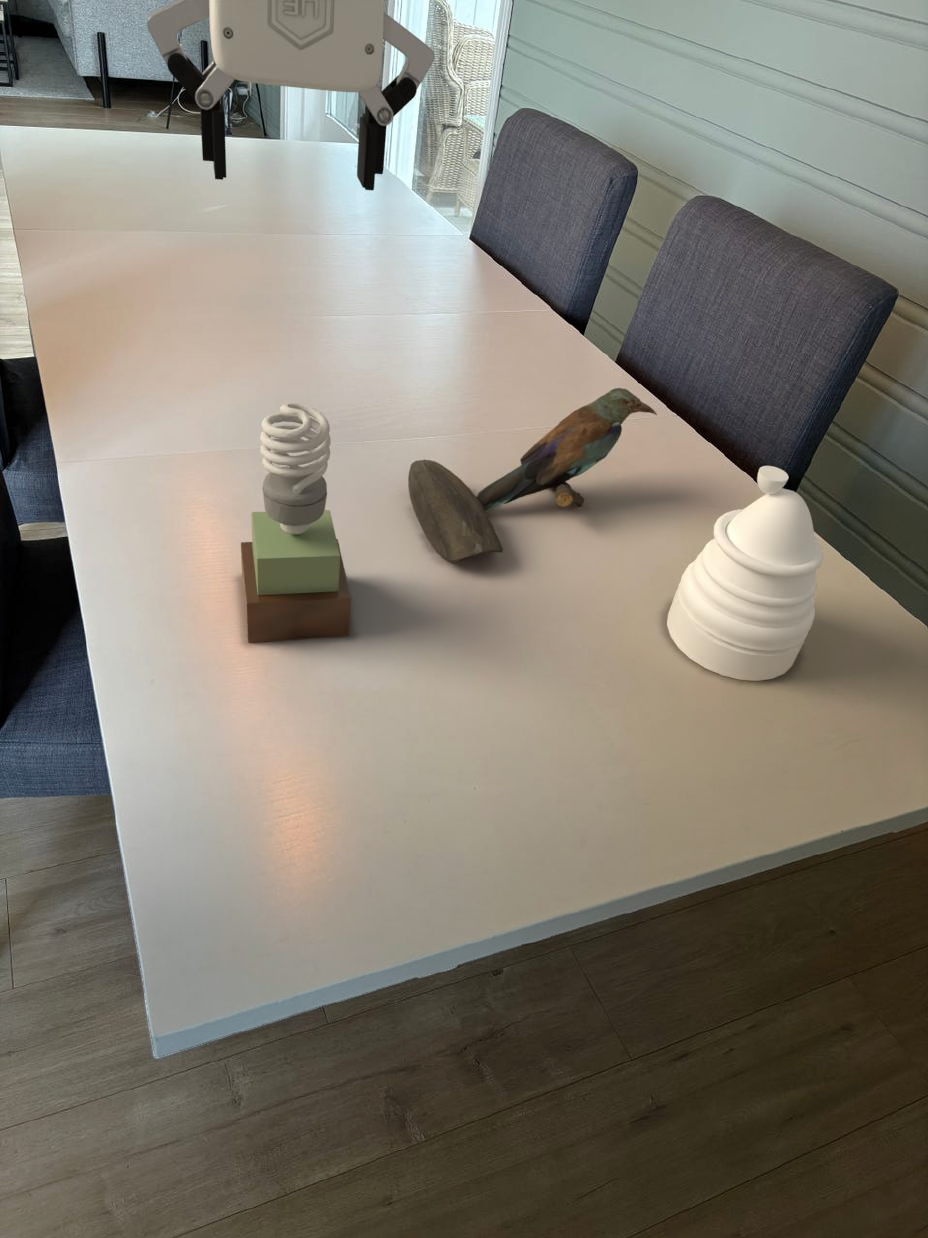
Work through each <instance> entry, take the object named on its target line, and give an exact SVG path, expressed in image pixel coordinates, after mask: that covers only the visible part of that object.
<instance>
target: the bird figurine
mask: <svg viewBox="0 0 928 1238" xmlns="http://www.w3.org/2000/svg"><path fill="white" fill-rule="evenodd" d="M633 413H634V414H635V413H650V414H654V415H655V416H658V414H657V412H656V411H655V410H654V408H652V407H651V406H649V404H646V403H645V402H642V401H641V399H640V398H639V397H637V396H636V395H635V394H633V393H632V392H631V391H629V389H627V388H621V387H617V388H613V389H611V390H609V391H608V392H606V393H605V394H603V395H601V396H599V397H598V398H597V399H595V400H594V401H592V402H590V403H588V404H586V405H584V406H583V405H582V406H581V407H580V408H578V409H575V410H574V411H572V412H571V413H570V414H569V415H567V416H566V417H564V418H563V419H561V420H560V421H559V423H558V424H557V425H556V426H554V427H553V428H552V429H551V430H550V431H549V432H547V433H546V434H545V435H543V437H541V438H540V439H539V440H538V441H537V442H536V443H535V444H533V445H532V446H531V447H530V448H529V449H528V450H527V451H526V452H525V453H524V454H523V455H522V456H521V457H520V459H519V461H520V465H519V466H518V467H516V468H514V469H513V470H511V471H509V472H508V473H506V474H505V475H503V476H502V477H500V478H498V479H496V480H494V481H493V482H492V483H490V484H488V485H486V487H484V488H483V489H481V490H480V491H479V492H478V494H477V496H476V497H477V498H478V500H479V501H480V503H481V504H482V506H483V508H484V509H485V512H486V514H487V513H489V512H491V511H492V510H494V509H497V508H498V507H500V506H502V505H505V504H508V503H509V504H510V503H511V502H514V501H516V500H518V499H521V498H524V497H526V496H530V495H533V494H536V493H539V492H542V491H544V490H551V491H552V492H553V494H554V496H555V500H556V504H557V505H558V506H559V507H562V508H566V507H570V505H571V504H573V505H575V506H576V508H581V507H583V506H584V504H585V498H584V497H583V496H582V495H581V493H580V492H576V490H574V489H573V488H572V486H571V484H569V483H568V482H569V480H571V479H573V478H574V477H575V478H576V477H578V476H580V475H582V474H584V473H586V472H587V471H589V470H590V469H591V468H593V467H594V466H595V465H597V464H598V463H599V462H601V461H602V460H604V459H605V458H607V456H608V455H609V453H610V452H611V451H612V450H613V448H614V447H615V446H616V444H617V443H618V441H619V439H620V437H621V434H622V431H623V427H622V424H623V423H624V422H625V421H626V419H627V418H628V417H629V416H630V415H632V414H633Z"/></svg>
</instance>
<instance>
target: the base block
mask: <svg viewBox="0 0 928 1238" xmlns="http://www.w3.org/2000/svg"><path fill="white" fill-rule="evenodd" d="M336 540H337V544H338V549H339V553H340V568H339V588H338V591H335V592H315V593H295V594H275V595H258V593H257V584H256V575H255V566H254V557H253V548H252V541H241V542H240V559H241V561H240V562H241V584H242V595H243V604H244V616H245V625H246V627H245V628H246V637H247V642H248V643H257V642H258V643H259V642H261V643H262V642H274V641H276V642H277V641H291V640H305V639H306V640H307V639H321V638H322V639H323V638H337V637H339V638H340V637H349V635H350V626H351V625H350V622H351V609H352V596H351V592H350V588H349V587H350V586H349V582H348V578H347V574H346V569H345V566H344V562H343V561H344V560H343V556H342V552H341V548H340V547H341V546H340V543H339V539H338V538H336Z"/></svg>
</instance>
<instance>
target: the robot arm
mask: <svg viewBox="0 0 928 1238" xmlns="http://www.w3.org/2000/svg"><path fill="white" fill-rule="evenodd" d="M384 3H385V2H384V0H175V1H174V2H172V3H170V4H167V5H166V6H164V7H162V8H160V9H157V10H155V11H153V12H151V13H150V14H149V15H148V16H147V19H146V20H147V22H146V27H147V30H148V32H149V34H150V36H151V38H152V39H153V41H154V43H155V46H156V48H157V50H158V51H159V53H160V55H161V57H162V59H163V61H164V62H165V64H166V67H167V69H168V71H169V74H171V76H172V77H173V78H174V79H175V80H176V82H178V83H179V84H180V85H181V86H182V88H183V89H184V90H185V91H186V92H187V93H188V94H189V95H190V96H191V98H192V99H194V101H195V103H196V104H197V107H199V110H200V111H199V112H200V113H199V114H200V134H201V136H200V137H201V151H202V152H201V155H202V162H213V173H214V180H218V181H219V180H222V181H223V180H224V179H226V178H227V152H226V148H227V147H226V123H225V122H226V121H225V110H224V104H223V103H221V98H222V97H223V95H224V94H225V93H226V92H227V90H228V89H229V87H231V85H232V84H233V83H234V82H235V81H236V80H237V81H240V82H243V83H244V82H245V83H251V84H257V85H258V84H260V85H269V86H278V87H286V88H287V87H289V88H298V89H308V90H309V89H310V90H318V91H329V92H339V93H340V92H341V93H358V95H359V97H360V98H361V100H362V101H363V104H365V107H364V113H362V116H360V117H359V126H358V146H357V163H356V164H357V165H356V177H357V179H358V181H359V183H360V186H361V187H362V188H363V189H365V191H374V190H375V183H376V182H375V180H376V175H383V174H384V168H385V154H386V141H387V140H386V139H387V127H388V126H390V125H391V123H392V122H393V120H394V117H395V116H396V115H397V114H398V113H400V112H401V111H402V110H403V109H404V108H405V106H407V105H408V104H409V103H410V102H411V101H412V100H413V99H414V98H415V97H416V95H417V91H418V89H419V86H421V84H422V83H423V81H424V79H425V78H426V76H427V74H428V72H429V71H430V68H431V67H432V65H433V63H434V61H435V52H434V50H433V49H432V48H431V47H430V46H429V45H428V44H426V43H425V41H422V40H421V39H420V38H419V37H418V36H417V35H415V34H413V33H412V32H411V31H410V30H408V28H406V27H405V26H404V25H402V24H401V23H399V22H398V21H397V20H396V19H394V18H393V17H392V16H391V15H389V13H387V12H385V11H384ZM205 19H209V20H208V21H209V33H210V34H209V35H210V37H209V38H210V47H211V54H212V57H213V59H212V60H211V62H210V63H209V64H208V66H207V67H206V68H205V69H204V71H203V72H201V71H200V70H199V68H198V67H197V66H196V65H195V64H194V63H193V62H192V60H191V59H190V58H189V57H188V56H187V55H186V53H185V51H184V49H183V48H182V46H181V43H180V40H179V39H178V34H179V32H181V31H183V30H185V29H187V28H188V27H190V26H192V25H195V24H197V23H199V22H201V21H203V20H205ZM384 41H386V42H387V43H388V44H389V45H390V46H392V47H394V48H395V49H396V50H397V51H398V52H400V53H401V54H402V55H404V64H403V65H402V67H401V70H400V72H399V73H398V75H396V77H395V78H394V79H392V80H391V82H389V83H388V84H387V86H385V87H384V88H383V89H382V90H380V89H379V86H378V85H377V84H378V83H379V80H380V77H381V73H382V66H383V65H382V64H383V47H384Z"/></svg>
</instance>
